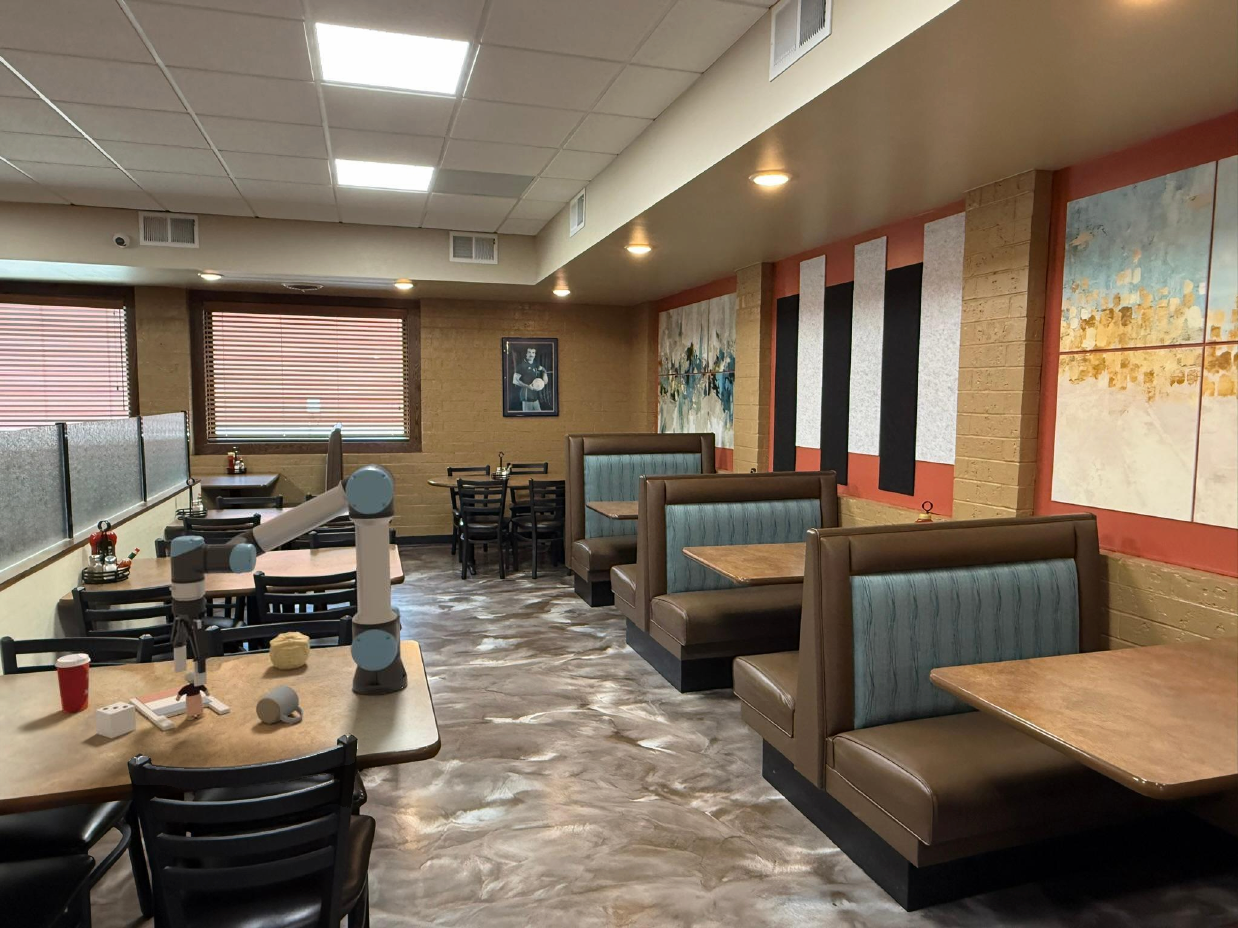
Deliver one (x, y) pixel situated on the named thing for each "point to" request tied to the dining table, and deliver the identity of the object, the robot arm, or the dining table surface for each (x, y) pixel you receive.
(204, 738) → the dining table surface
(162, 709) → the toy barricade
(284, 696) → the ceramic mug
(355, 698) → the dining table surface
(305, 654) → the pale yellow rounded lump
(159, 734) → the dining table surface
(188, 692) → the grandmother figurine
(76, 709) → the paper cup
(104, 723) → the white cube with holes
